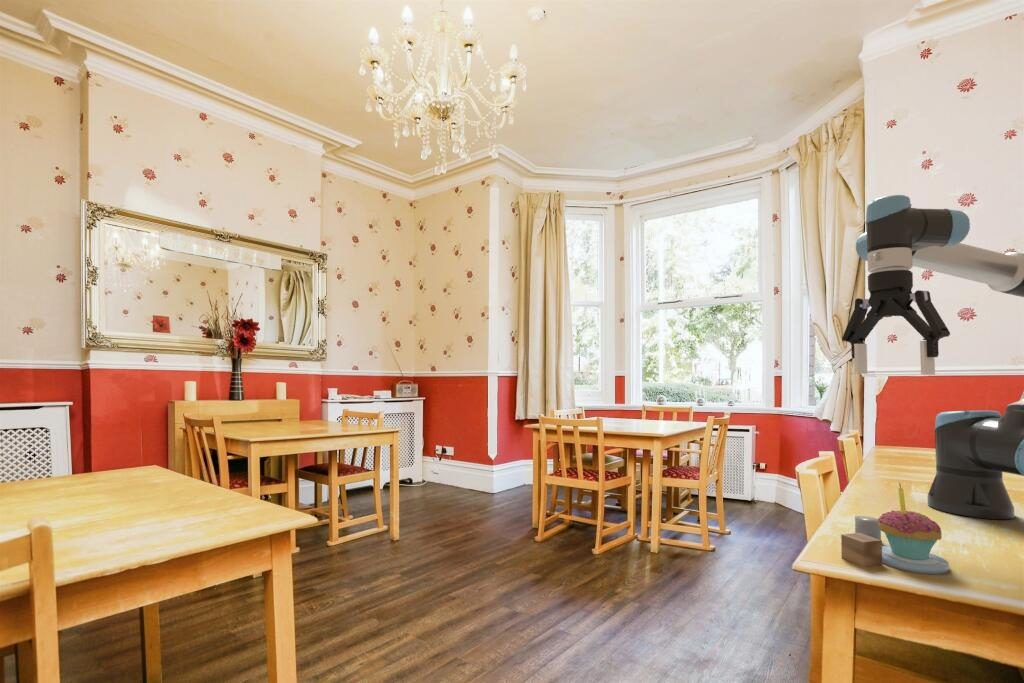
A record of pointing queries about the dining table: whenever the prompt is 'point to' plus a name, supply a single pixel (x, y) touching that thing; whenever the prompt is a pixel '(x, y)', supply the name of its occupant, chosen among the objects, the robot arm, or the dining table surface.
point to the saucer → (915, 563)
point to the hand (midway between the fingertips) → (892, 374)
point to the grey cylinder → (867, 526)
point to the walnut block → (861, 549)
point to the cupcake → (909, 531)
